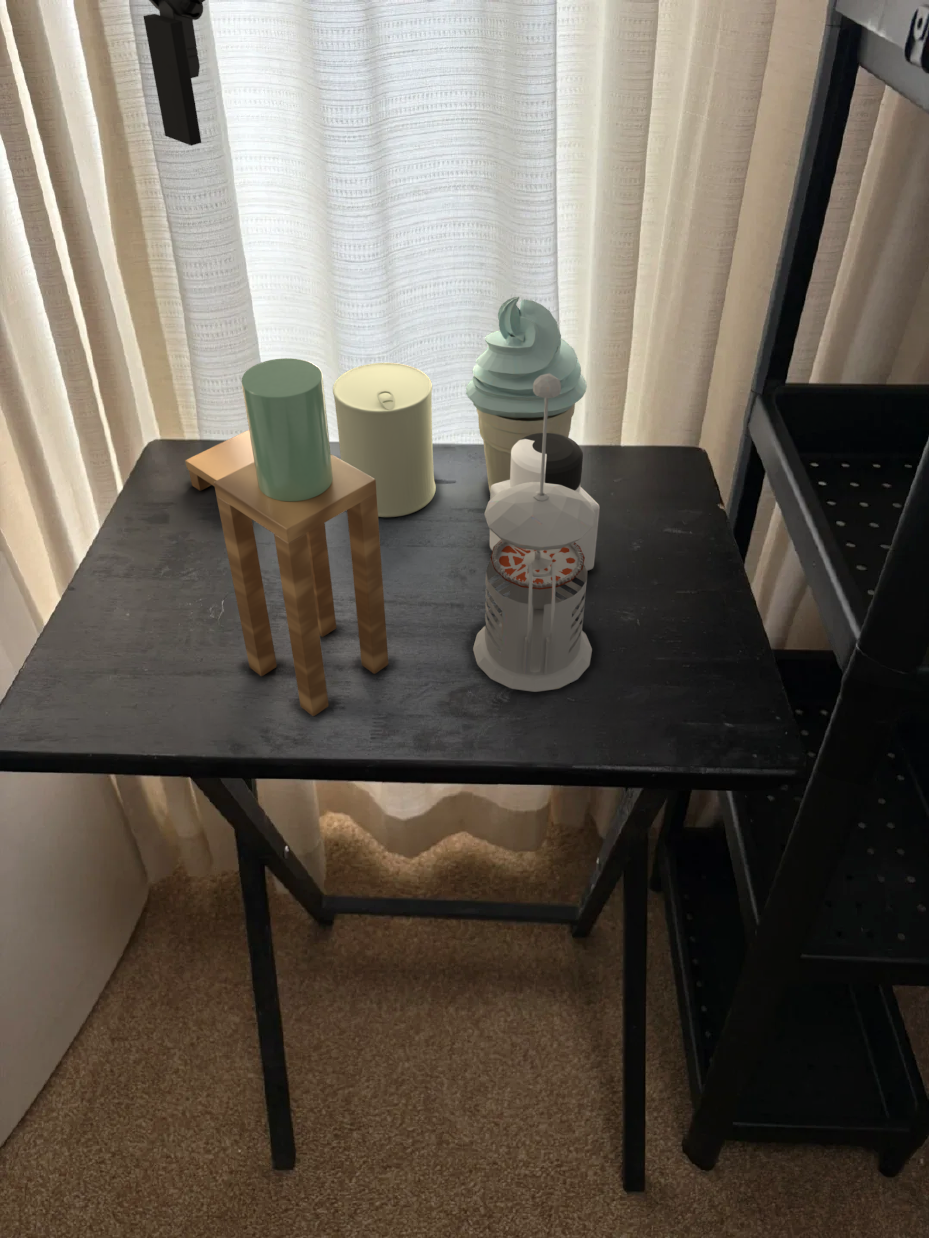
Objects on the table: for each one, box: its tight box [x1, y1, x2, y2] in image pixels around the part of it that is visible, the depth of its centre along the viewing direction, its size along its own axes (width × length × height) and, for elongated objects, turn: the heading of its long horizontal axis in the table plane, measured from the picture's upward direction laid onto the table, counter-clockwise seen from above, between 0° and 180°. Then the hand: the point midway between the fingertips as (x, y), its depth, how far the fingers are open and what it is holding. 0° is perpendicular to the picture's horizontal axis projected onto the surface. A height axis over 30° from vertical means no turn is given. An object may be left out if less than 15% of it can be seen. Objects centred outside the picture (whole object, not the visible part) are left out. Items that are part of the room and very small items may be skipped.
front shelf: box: [213, 453, 389, 717], centre depth 79 cm, size 8×8×18 cm
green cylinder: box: [241, 357, 333, 502], centre depth 70 cm, size 5×5×8 cm
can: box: [332, 362, 437, 518], centre depth 99 cm, size 9×9×12 cm
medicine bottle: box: [489, 433, 601, 572], centre depth 91 cm, size 7×7×12 cm
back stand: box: [184, 429, 254, 492], centre depth 103 cm, size 8×8×3 cm
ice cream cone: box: [465, 296, 588, 492], centre depth 97 cm, size 10×11×20 cm
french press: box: [472, 373, 595, 693], centre depth 77 cm, size 10×12×25 cm
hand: (84, 168), depth 60 cm, fingers open, 13 cm apart
